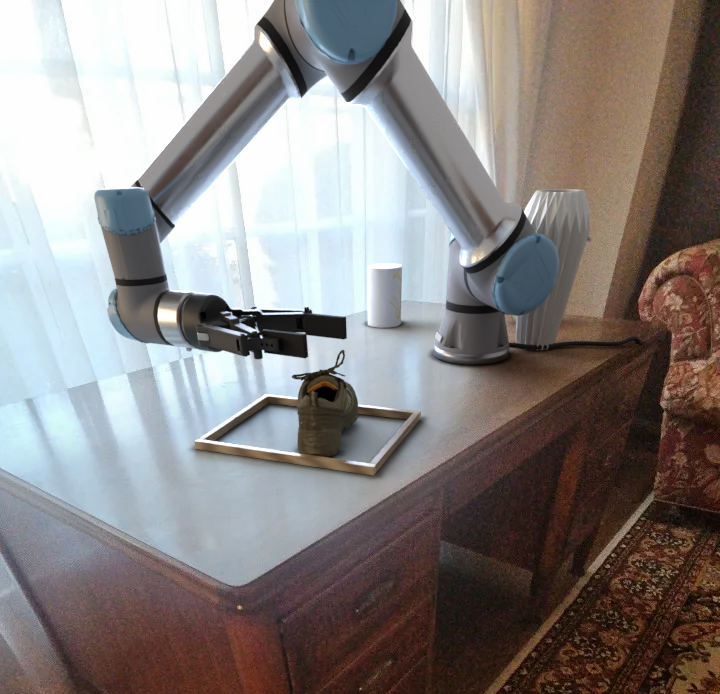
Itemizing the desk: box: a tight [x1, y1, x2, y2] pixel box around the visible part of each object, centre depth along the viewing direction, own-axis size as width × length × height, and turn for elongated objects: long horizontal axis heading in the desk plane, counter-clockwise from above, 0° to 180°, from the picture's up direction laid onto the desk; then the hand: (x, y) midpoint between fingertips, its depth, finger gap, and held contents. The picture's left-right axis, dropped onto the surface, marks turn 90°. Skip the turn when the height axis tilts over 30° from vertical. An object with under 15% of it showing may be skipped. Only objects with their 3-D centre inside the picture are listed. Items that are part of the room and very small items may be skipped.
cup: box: [366, 262, 403, 329], centre depth 137 cm, size 8×8×12 cm
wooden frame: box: [193, 393, 422, 477], centre depth 88 cm, size 28×22×1 cm
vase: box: [514, 188, 591, 351], centre depth 114 cm, size 13×13×26 cm
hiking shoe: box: [291, 349, 359, 457], centre depth 83 cm, size 8×20×12 cm, turn 171°
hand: (326, 336), depth 77 cm, fingers open, 9 cm apart
